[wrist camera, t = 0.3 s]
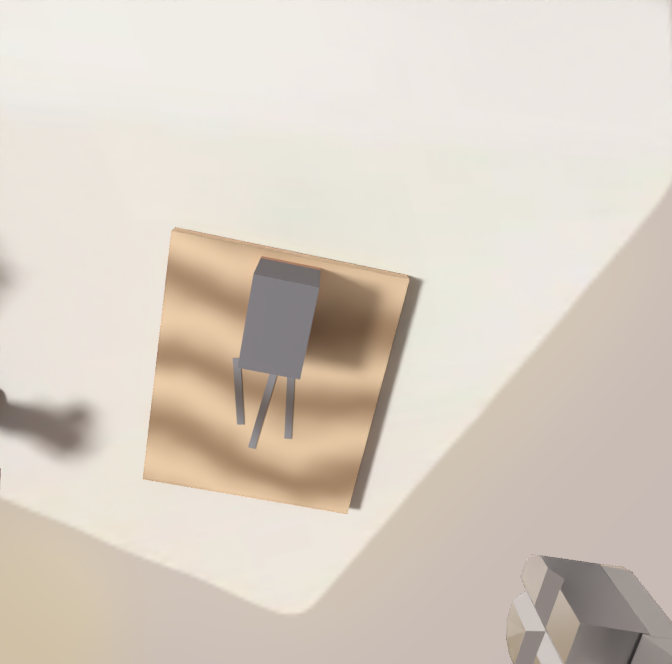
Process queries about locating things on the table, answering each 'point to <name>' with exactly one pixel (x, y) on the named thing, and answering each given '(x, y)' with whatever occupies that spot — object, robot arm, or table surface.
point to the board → (266, 378)
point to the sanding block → (279, 317)
